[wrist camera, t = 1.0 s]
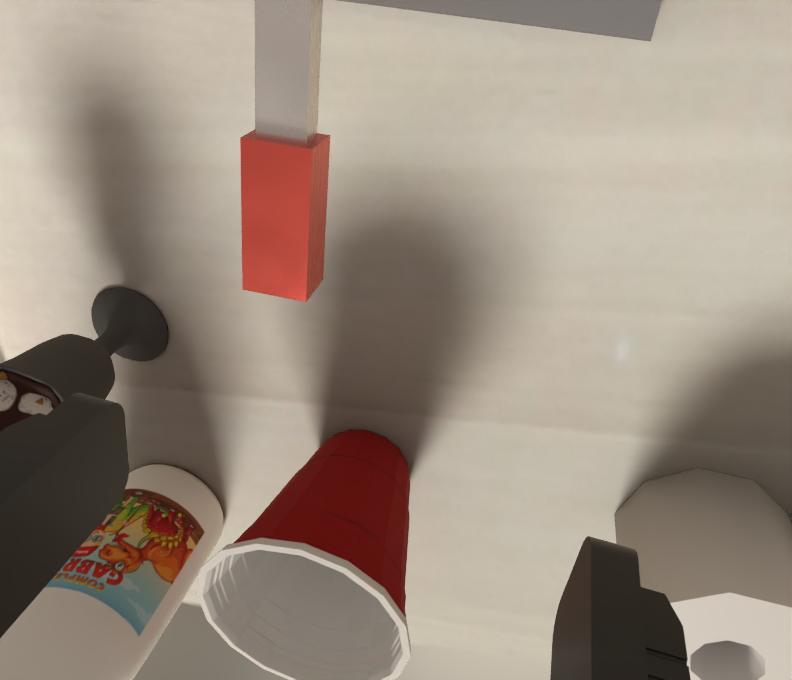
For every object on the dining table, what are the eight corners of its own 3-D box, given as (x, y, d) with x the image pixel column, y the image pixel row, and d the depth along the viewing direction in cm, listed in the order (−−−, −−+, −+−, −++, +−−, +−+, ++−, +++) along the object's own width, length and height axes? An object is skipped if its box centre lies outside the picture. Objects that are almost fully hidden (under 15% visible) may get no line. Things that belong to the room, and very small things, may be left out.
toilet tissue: (886, 557, 38) (962, 703, 30) (644, 602, 43) (659, 735, 36) (842, 430, 35) (915, 559, 27) (588, 495, 40) (591, 617, 33)
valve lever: (257, -256, 17) (226, -277, 16) (358, -248, 17) (336, -269, 15) (258, 266, 24) (237, 288, 23) (328, 279, 24) (311, 302, 22)
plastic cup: (255, 478, 45) (162, 632, 35) (322, 363, 39) (236, 506, 29) (397, 559, 46) (347, 733, 36) (483, 457, 40) (454, 628, 30)
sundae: (72, 263, 40) (-163, 408, 27) (180, 286, 39) (-10, 448, 26) (84, 358, 43) (-120, 527, 30) (183, 382, 42) (17, 567, 30)
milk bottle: (247, 533, 48) (69, 854, 31) (166, 553, 51) (-38, 856, 34) (186, 448, 45) (-48, 748, 28) (103, 475, 48) (-152, 761, 31)
